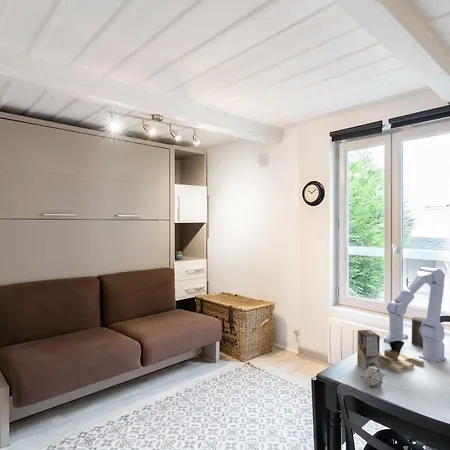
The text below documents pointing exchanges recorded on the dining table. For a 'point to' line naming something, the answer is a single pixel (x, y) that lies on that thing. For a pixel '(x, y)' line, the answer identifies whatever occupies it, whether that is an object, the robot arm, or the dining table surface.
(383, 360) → the trap deck
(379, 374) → the game die
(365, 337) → the coffee box
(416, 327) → the dark brown upright box
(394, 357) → the walnut block
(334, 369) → the dining table surface
